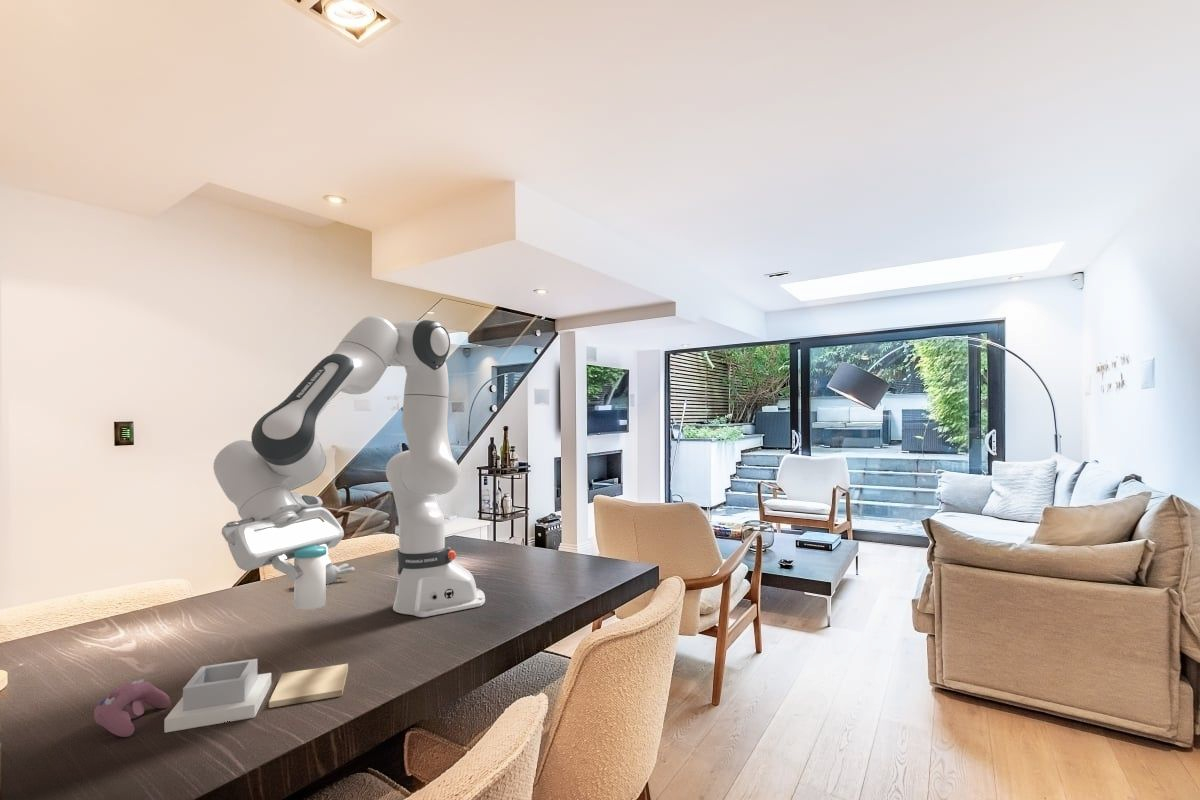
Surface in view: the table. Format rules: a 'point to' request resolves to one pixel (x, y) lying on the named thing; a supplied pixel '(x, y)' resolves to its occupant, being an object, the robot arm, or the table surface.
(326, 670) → the pad
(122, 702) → the video game controller
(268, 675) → the housing
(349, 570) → the bunny figurine
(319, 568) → the cylinder
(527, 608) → the table surface
